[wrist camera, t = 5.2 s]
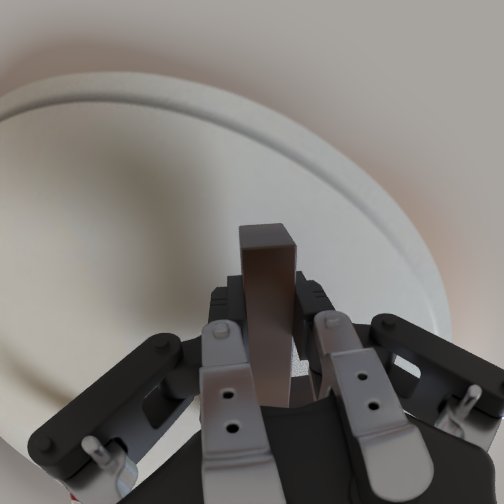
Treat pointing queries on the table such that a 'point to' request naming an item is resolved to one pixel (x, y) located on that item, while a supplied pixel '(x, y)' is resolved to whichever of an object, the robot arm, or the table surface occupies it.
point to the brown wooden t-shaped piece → (271, 314)
